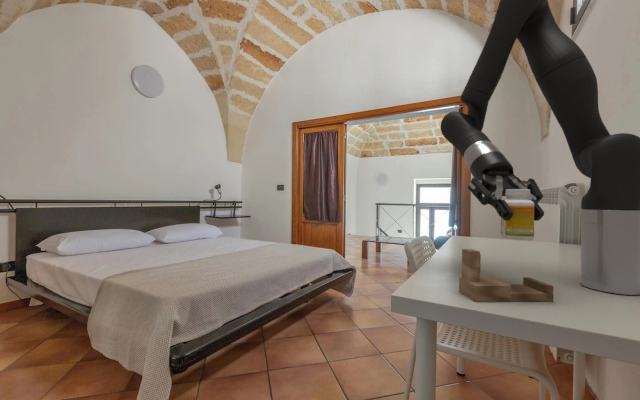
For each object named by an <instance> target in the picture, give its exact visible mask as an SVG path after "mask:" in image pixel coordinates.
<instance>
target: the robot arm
mask: <svg viewBox="0 0 640 400" xmlns="http://www.w3.org/2000/svg"><path fill="white" fill-rule="evenodd" d="M516 40H518V42H519V44H520V45H521V46H522V49H523V51H524V53H525V56H526V59H527V62H528V65H529V67H530V70H531V72H532V75H533V76H534V79H535V81H536V83H537V85H538V87H539V90H540V91H541V93H542V95H543V97H544V99H545V101H546V102H547V104H548V106H549V108H550V110H551V112H552V113H553V116H554V117H555V119H556V120H557V122H558V124H559V126H560V128H561V130H562V132H563V135H564V137H565V140H566V142H567V145H568V148H569V150H570V151H569V152H570V154H571V157H572V159H573V163H574V165H575V167H576V169H577V170H578V171H579V172H580V173H581V174H582V175H583V176H585V177H587V178H590V184H589V187H588V188H589V189H588V190H587V192H586V193H585V194H584V196H582V197H581V201H580V209H581V210H580V223H581V224H580V285H582V286H584V287H585V288H589V289H592V290H596V291H601V292H604V293H605V292H606V293H610V294H616V295H617V294H618V295H624V296H625V295H626V296H628V295H629V296H638V295H640V136H638V135H635V134H633V133H627V132H626V133H625V132H623V133H622V132H621V133H614V134H610V132H609V130H608V129H607V127H606V125H605V124H604V121H603V119H602V117H601V114H600V109H599V85H598V80H597V75H596V73H595V71H594V69H593V67H592V65H591V63H590V61H589V59H588V57H587V56H586V53H584V51H583V50H582V49H581V47H580V46H579V45H578V44H577V43H576V42H575V41H574V40H573V39H572V38H571V37H569V35H567V34H566V33H565V32H564V31H562V29H561V28H560V27H559V25H558V23H557V22H556V20H555V17H554V16H553V13H552V10H551V8H550V4H549V1H548V0H499V3H498V7H497V9H496V13H495V16H494V19H493V22H492V25H491V27H490V31H489V33H488V35H487V38H486V41H485V43H484V46H483V48H482V50H481V52H480V54H479V57H478V59H477V61H476V63H475V65H474V67H473V69H472V72H471V73H470V76H469V78H468V80H467V82H466V84H465V87H464V88H463V90H462V92H461V95H460V102H461V103H463V104H464V105H466V107H467V114H466V113H464V112H462V111H456V110H455V111H450V112H448V113H447V114H446V115H444V116H443V117H442V120H441V121H440V131H441V135H442V136H443V137H444V138H445V139H446V140H447V141H448V142H449V143H450V144H451V145H452V146H453V147H454V148H456V149H457V150H458V151H459V154H460V155H461V156H462V158H463V160H464V162H465V165H466V167H467V168H468V170H469V172H470V173H471V175H472V178H471V179H470V182H469V184H468V186H467V189H469V191H470V192H471V194H473V196H474V197H475V198H476V199H477V200H478V202H480V204H481V205H483V206H487V205H490V206H491V207H492V208H494V209H495V211H496V213H497V215H498V216H499V217H500V219H501V218H503V220H509V219H510V218H511V217H512V216H513V212H512V210H511V209H510V207H509V206H508V204H507V203H506V202H505V200H506V199H503V197H506V195H505V193H506V190H507V189H530V197H529V200H531V201H533V202H534V222H535V221H540V220H541V219H542V218H543V217H544V215H545V211H544V210H543V209H542V208H541V206H540V205H539V203H540V202H541V200H543V198H544V195H543V193H542V191H541V190H540V188H539V186H538V184H537V182H536V181H535V179H533V178H528V179H527V180H522V179H520V178H519V177H518V176H516V175H515V173H514V168H513V165H512V163H510V161H509V160H508V159H507V158H506V156H505V155H504V154H503V152H502V151H501V150H500V148H498V147H497V145H495V144H494V143H493V142H492V141H491V140H490V138H489V137H488V135H486V133H484V132H483V128H484V126H485V125H484V124H485V122H486V121H485V120H486V116H487V111H488V106H489V102H490V100H491V98H492V96H493V94H494V92H495V90H496V88H497V86H498V84H499V82H500V80H501V78H502V75H503V73H504V71H505V68H506V65H507V63H508V59H509V57H510V54H511V52H512V50H513V48H514V47H513V46H514V45H515V43H516Z"/></svg>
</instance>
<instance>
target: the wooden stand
mask: <svg viewBox="0 0 640 400" xmlns="http://www.w3.org/2000/svg"><path fill="white" fill-rule="evenodd" d="M481 259H482V258H481V251H480V250H475V249H473V248H462V249H461V276H459V277H458V279H459V281H458V292H459V293H460V294H462V295H463V296H466V297H467V298H469V299H470V300H471V301H474V302H475V303H481V302H482V303H492V302H493V303H496V302H497V303H501V302H502V303H506V302H507V303H518V302H519V303H525V302H527V303H529V302H530V303H534V302H536V303H539V302H540V303H545V302H546V303H553V302H554V285H551V284H549V283H547V282H543V281H540V280H538V279H535V278H533V277H529V276H528V277H522V281H523V282H522V283H521V284H516V283H515V284H508V283H505V282H504V281H501V280H499V279H496V278H494V277H491V276H490V277H489V276H488V277H487V276H484V277H483V276H482V277H481Z"/></svg>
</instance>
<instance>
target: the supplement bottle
mask: <svg viewBox="0 0 640 400" xmlns="http://www.w3.org/2000/svg"><path fill="white" fill-rule="evenodd" d="M505 195H506V196H505V197H506V199H504V200H505V202H506V203H507V204H508V206H509V207H510V209H511V210H512V212H513V216H512V217H511V218H510V219H509V220H503V218H501V217H500V236H501V238H505V239H510V240H519V241H524V240H526V241H527V240H528V241H529V240H530V241H531V240H533V239H535V221H534V202H533V201H531V200H529V197H530V189H507V190H506V193H505Z"/></svg>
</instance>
